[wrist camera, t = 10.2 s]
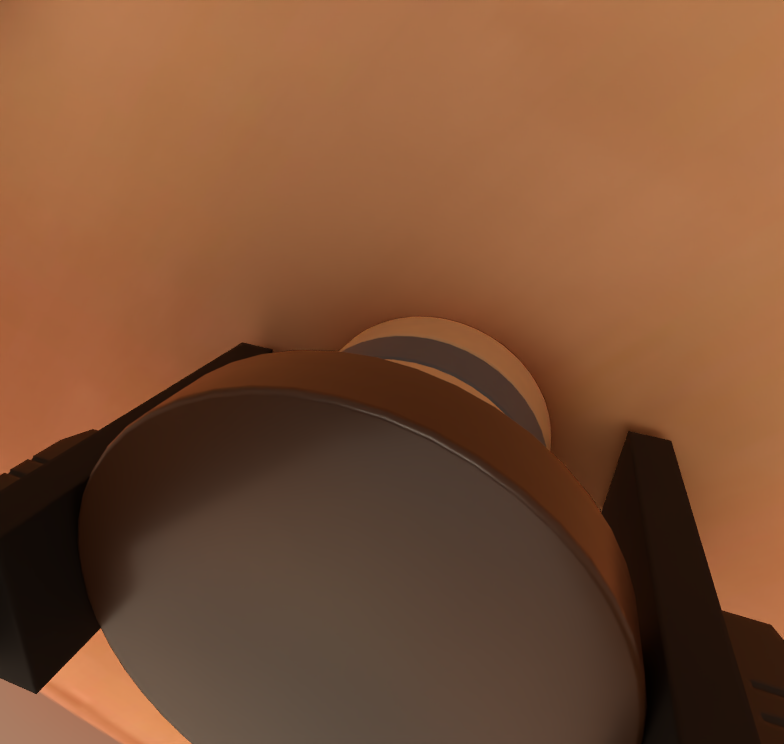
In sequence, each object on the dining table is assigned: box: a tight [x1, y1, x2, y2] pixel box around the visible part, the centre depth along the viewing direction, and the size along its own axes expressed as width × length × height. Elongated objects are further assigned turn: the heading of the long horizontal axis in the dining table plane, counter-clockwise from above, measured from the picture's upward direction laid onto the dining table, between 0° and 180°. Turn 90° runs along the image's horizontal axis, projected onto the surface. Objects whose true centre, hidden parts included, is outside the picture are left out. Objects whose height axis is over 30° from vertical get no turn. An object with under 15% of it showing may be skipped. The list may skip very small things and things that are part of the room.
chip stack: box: [340, 317, 551, 451], centre depth 10 cm, size 5×5×5 cm
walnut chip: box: [78, 350, 647, 744], centre depth 7 cm, size 8×8×1 cm
